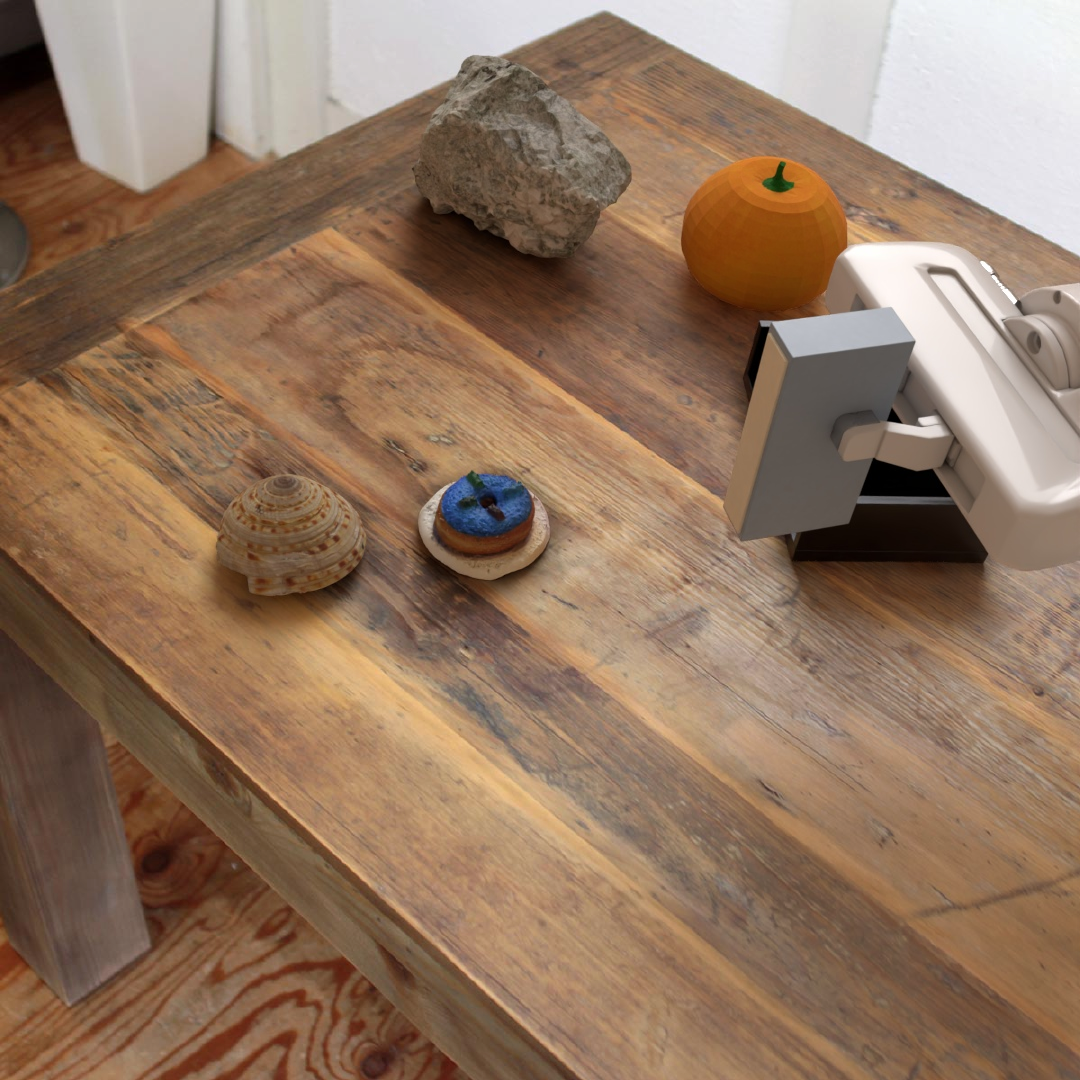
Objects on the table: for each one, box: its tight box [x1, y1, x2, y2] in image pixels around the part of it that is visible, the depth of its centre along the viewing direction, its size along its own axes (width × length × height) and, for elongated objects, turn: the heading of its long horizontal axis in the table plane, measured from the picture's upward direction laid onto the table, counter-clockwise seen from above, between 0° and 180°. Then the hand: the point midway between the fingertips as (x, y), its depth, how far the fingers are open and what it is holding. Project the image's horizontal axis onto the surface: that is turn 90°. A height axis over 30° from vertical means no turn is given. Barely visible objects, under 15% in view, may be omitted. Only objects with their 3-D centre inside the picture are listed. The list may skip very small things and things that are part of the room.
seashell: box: [215, 473, 368, 597], centre depth 75 cm, size 8×6×8 cm
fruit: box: [680, 155, 848, 313], centre depth 94 cm, size 12×12×10 cm
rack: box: [742, 319, 989, 564], centre depth 83 cm, size 12×16×5 cm
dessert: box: [417, 469, 551, 581], centre depth 78 cm, size 8×7×6 cm
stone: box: [411, 54, 633, 259], centre depth 96 cm, size 10×12×15 cm
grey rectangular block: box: [722, 307, 916, 543], centre depth 64 cm, size 2×6×12 cm, turn 106°
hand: (821, 410), depth 63 cm, fingers closed on grey rectangular block, 2 cm apart
